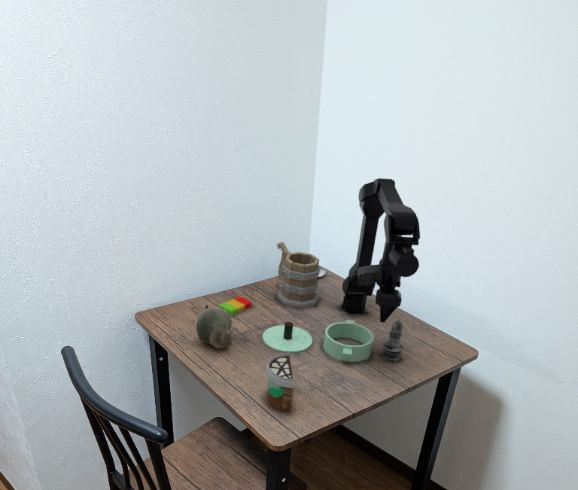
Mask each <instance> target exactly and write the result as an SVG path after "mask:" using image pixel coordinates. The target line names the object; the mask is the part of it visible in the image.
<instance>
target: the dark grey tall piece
mask: <svg viewBox="0 0 578 490" xmlns="http://www.w3.org/2000/svg"><path fill="white" fill-rule="evenodd" d="M403 326H404V325H403V323H402V322H401V320H400V319H397V321H396V320H395V321H394V322H393V323H392V325H391V330H390V331H389V333H388V334H389V338H388V340H384V341H383V342H382V350H383V352H382V353H381V354H380V356H381V358H382V359H383V360H384V361H387V362H389V363H397V362H398V361H400V359H401V356H400V354H401V353H402V351H403V350H404V345H403V344H402V343H401V338H402V337H403V333H402V331H403Z"/></svg>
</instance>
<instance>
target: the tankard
mask: <svg viewBox="0 0 578 490" xmlns="http://www.w3.org/2000/svg"><path fill="white" fill-rule="evenodd" d="M276 246H277V249H279V250H280V251H281V257H280V262H279V265H278V271H277V273H278V278H279V281H280V284H279V285H280V286H281V287H280V289H279V291H278V292H277V293H276V299H278V300H279V302H281V303H283V304H285V305H288V306H293V307H296V308H297V307H298V308H304V307H315V306H316V305H317V302H318V300H319V297H320V294H319V293H317V289H318V288H319V280H318V278H319V277H318V275H319V273H320V270H321V266H320V259H319V258H318V257H317V256H315V255H314V254H312V253H307V252H303V251H297V252H291V251H290V250H289V249H288V248H287V246H286V244H285V242H284V241H281V242H278V243H277V244H276Z"/></svg>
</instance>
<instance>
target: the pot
mask: <svg viewBox="0 0 578 490" xmlns="http://www.w3.org/2000/svg"><path fill="white" fill-rule="evenodd" d="M337 338H338V339H339V338H345V339H352V340H355V341H358V342H360V343H361V344H360V345H359V344H357V345H351V344H346V343H345V344H344V343H341V342H339V341H336V340H334V339H337ZM373 344H374V334H373V332H372V331H371V329H368V328H367V327H365V326H364V325H361V324H358V323H356V322H355V320H350V319H346V320H345V321H341V322H340V321H337V322H333V323H330V324H329V325H328V326H326V328H325V331H324V337H323V343H322V349H323V351H324V352H325V353H326V354H327V355H328V356H330V357H332V358H334V359H336V360H339V361H342V362H349V363H352V362H353V363H354V362H361V361H366V360H368V359H369V358H370V356H371V354H372V348H373Z"/></svg>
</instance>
